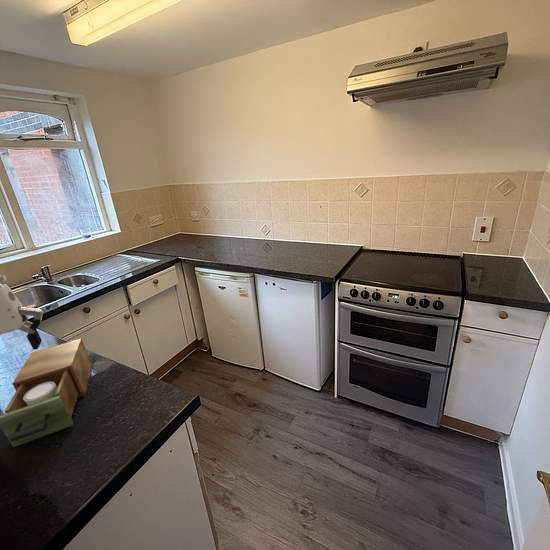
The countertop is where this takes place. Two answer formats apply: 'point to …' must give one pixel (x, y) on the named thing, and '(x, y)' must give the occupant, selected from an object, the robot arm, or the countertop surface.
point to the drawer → (40, 410)
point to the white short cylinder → (40, 393)
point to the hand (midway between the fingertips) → (13, 353)
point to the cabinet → (58, 364)
